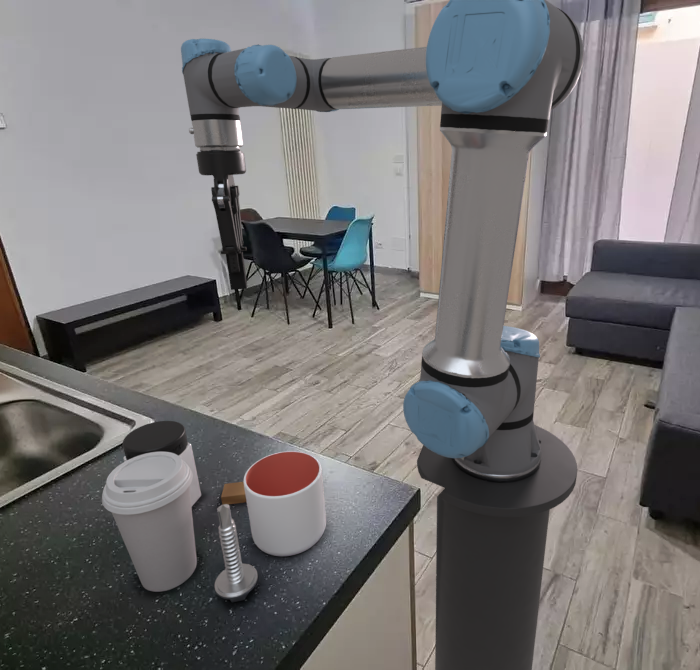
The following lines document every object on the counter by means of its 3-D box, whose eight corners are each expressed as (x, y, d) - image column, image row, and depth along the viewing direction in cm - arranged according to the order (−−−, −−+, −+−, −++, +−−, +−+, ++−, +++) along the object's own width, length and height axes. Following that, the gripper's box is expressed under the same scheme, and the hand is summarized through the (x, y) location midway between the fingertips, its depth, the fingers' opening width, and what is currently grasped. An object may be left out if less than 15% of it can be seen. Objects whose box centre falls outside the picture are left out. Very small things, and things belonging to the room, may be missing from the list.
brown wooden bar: (312, 481, 77) (312, 473, 77) (312, 494, 74) (312, 485, 74) (225, 491, 75) (224, 483, 75) (222, 505, 72) (220, 497, 72)
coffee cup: (108, 588, 59) (77, 487, 53) (169, 534, 67) (148, 441, 62) (168, 613, 55) (141, 507, 50) (225, 553, 64) (207, 456, 58)
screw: (267, 581, 59) (245, 615, 55) (232, 572, 61) (208, 605, 56) (254, 494, 55) (229, 523, 50) (217, 487, 56) (189, 515, 52)
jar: (133, 529, 68) (113, 457, 64) (140, 494, 75) (123, 426, 71) (201, 513, 71) (186, 443, 67) (201, 480, 78) (189, 415, 74)
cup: (292, 499, 73) (285, 442, 70) (341, 526, 68) (337, 466, 64) (237, 540, 66) (226, 479, 62) (288, 573, 60) (279, 508, 57)
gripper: (204, 150, 85) (223, 280, 94) (186, 149, 73) (210, 299, 82) (248, 149, 86) (263, 278, 95) (237, 148, 74) (256, 296, 83)
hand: (239, 288), depth 88 cm, fingers closed
